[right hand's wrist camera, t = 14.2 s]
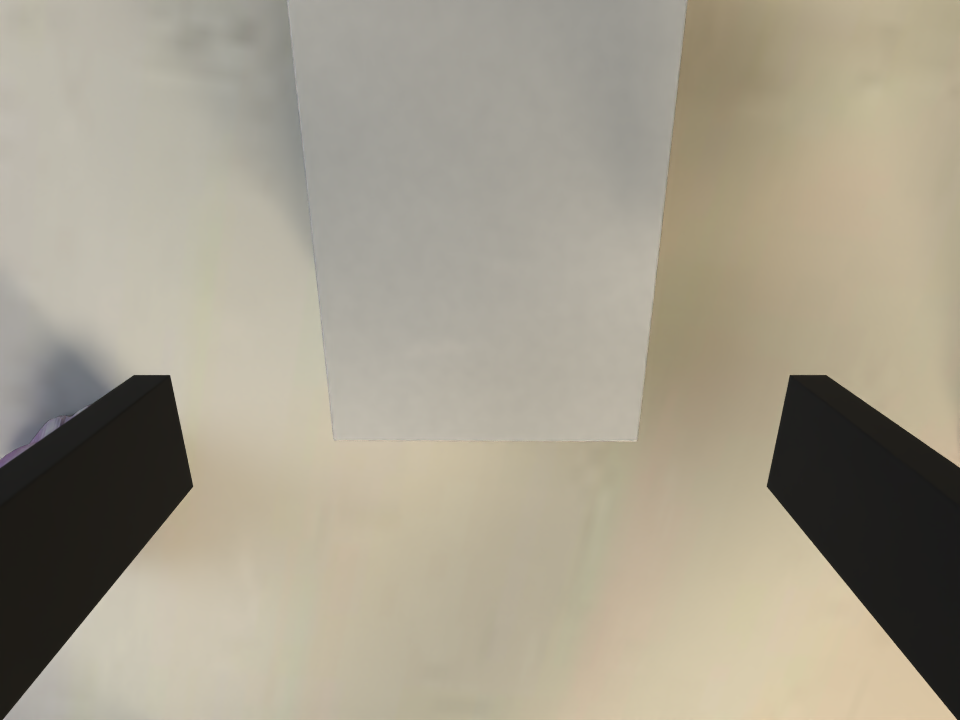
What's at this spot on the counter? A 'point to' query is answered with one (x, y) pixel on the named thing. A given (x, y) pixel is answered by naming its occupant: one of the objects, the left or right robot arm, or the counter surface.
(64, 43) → the counter surface
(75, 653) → the counter surface
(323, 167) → the cabinet
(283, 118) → the counter surface
